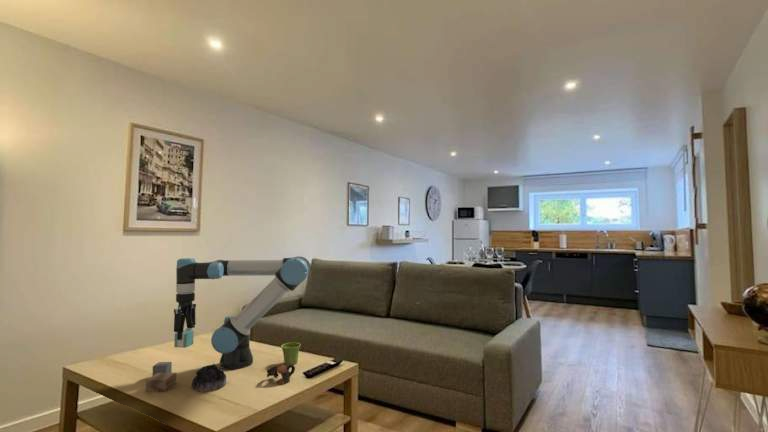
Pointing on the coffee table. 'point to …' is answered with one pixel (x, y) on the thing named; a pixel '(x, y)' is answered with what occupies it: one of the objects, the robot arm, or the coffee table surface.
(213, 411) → the coffee table surface
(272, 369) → the brown animal figurine
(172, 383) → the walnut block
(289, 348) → the plant pot
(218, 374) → the crystal cluster
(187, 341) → the teal cube
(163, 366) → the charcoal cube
